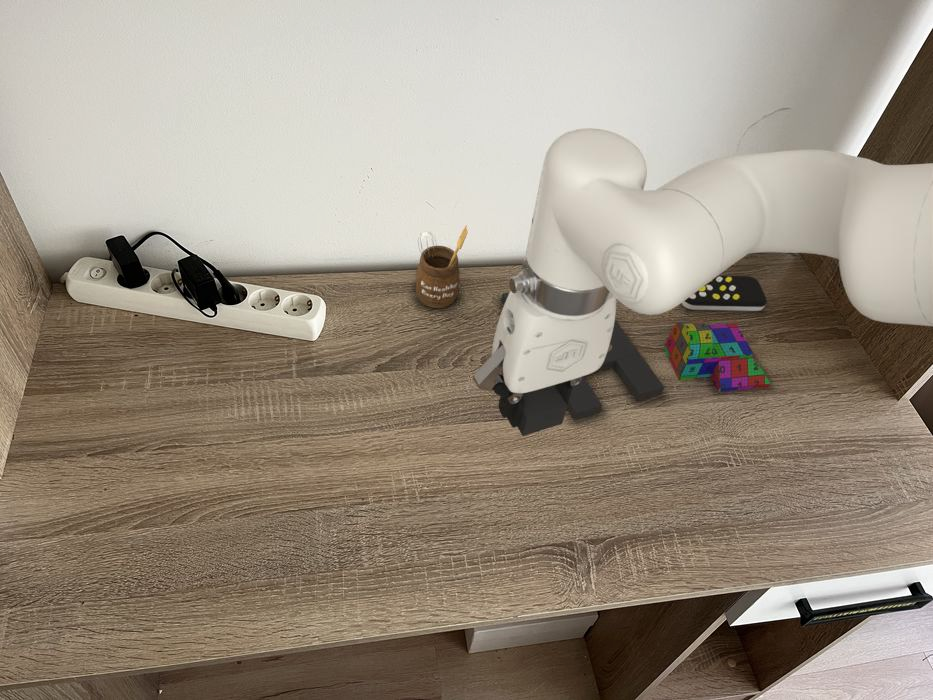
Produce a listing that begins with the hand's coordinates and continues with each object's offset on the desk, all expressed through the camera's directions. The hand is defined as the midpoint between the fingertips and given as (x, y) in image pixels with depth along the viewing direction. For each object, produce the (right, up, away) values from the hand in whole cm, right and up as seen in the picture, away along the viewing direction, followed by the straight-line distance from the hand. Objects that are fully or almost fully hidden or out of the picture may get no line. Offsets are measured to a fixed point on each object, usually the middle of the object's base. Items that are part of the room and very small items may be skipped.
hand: (532, 407), depth 76 cm
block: (+27, +3, +26) cm, 38 cm away
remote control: (+31, +14, +35) cm, 49 cm away
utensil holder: (-11, +13, +30) cm, 35 cm away
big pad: (+8, +6, +26) cm, 28 cm away
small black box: (0, 0, 0) cm, 1 cm away
